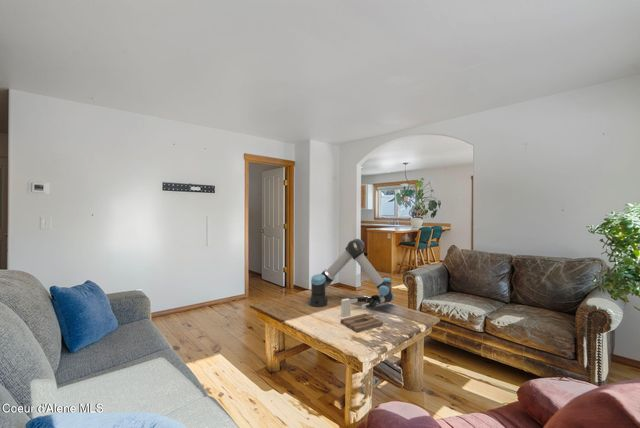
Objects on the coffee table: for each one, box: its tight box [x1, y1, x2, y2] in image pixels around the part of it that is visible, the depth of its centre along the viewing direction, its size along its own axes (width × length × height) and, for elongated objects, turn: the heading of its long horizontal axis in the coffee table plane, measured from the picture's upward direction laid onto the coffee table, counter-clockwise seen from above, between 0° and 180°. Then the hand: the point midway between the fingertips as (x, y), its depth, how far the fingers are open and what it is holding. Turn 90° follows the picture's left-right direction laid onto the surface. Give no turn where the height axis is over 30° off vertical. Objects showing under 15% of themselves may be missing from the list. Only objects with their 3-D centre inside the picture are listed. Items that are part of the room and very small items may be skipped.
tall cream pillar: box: [340, 297, 351, 318], centre depth 212 cm, size 3×6×12 cm, turn 121°
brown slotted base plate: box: [340, 312, 383, 333], centre depth 197 cm, size 18×22×2 cm
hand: (356, 304), depth 216 cm, fingers open, 13 cm apart
